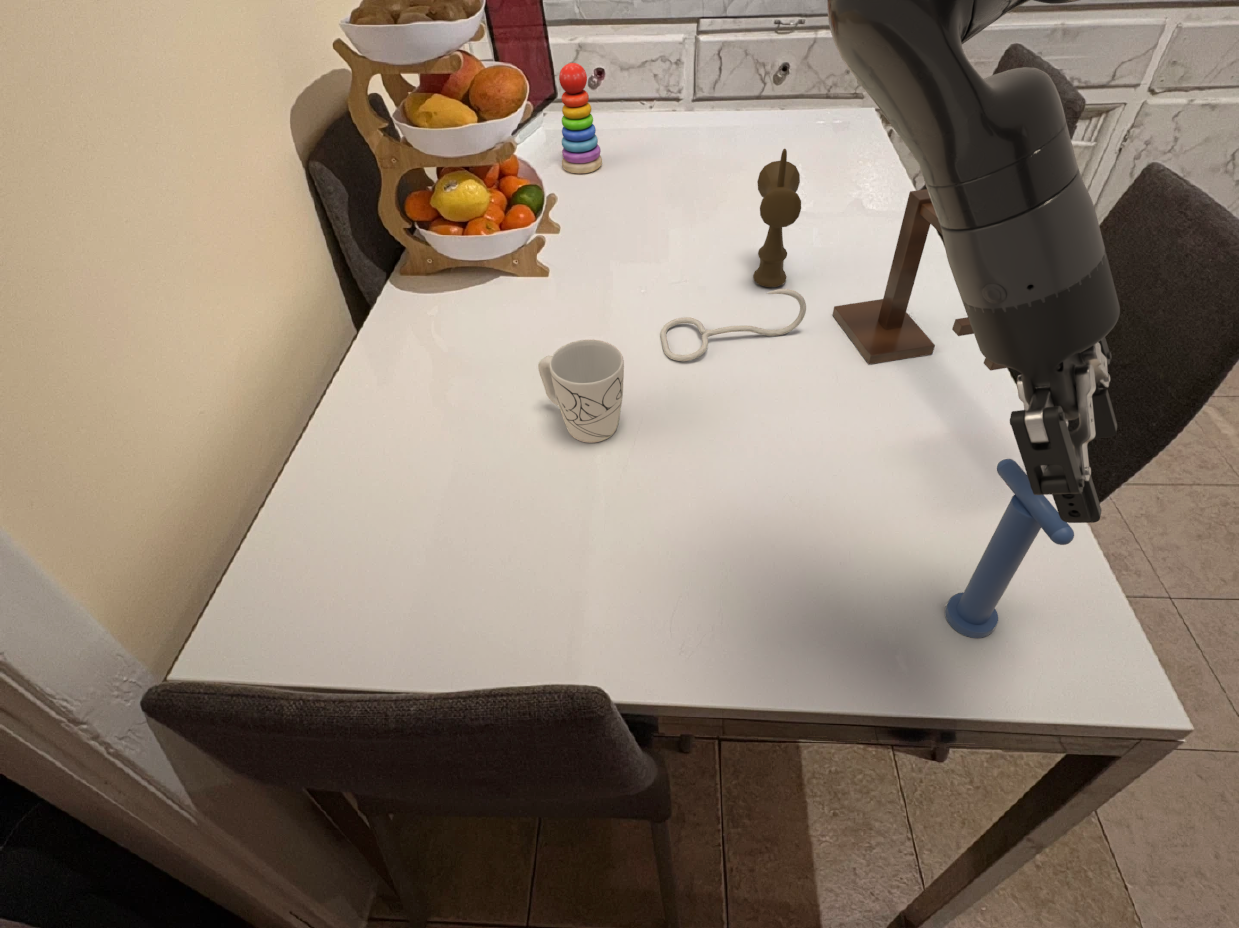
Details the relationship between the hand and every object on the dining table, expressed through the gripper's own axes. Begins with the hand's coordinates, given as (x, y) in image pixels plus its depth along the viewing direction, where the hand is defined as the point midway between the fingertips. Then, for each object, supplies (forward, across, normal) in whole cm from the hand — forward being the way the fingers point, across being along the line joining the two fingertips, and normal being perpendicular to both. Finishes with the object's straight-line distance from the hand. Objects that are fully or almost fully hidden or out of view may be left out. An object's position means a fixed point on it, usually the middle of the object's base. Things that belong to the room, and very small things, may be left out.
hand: (1091, 474), depth 49 cm
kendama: (0, +49, +48) cm, 69 cm away
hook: (0, +33, +47) cm, 57 cm away
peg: (+19, +2, +14) cm, 23 cm away
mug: (-6, +8, +54) cm, 55 cm away
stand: (+13, +33, +26) cm, 44 cm away
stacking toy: (-25, +72, +90) cm, 118 cm away
